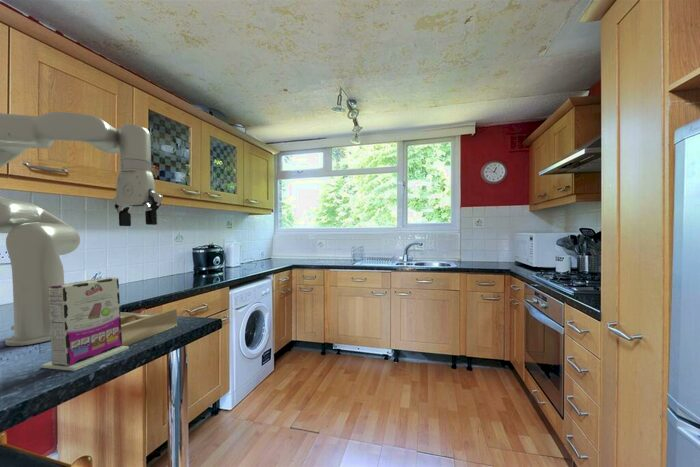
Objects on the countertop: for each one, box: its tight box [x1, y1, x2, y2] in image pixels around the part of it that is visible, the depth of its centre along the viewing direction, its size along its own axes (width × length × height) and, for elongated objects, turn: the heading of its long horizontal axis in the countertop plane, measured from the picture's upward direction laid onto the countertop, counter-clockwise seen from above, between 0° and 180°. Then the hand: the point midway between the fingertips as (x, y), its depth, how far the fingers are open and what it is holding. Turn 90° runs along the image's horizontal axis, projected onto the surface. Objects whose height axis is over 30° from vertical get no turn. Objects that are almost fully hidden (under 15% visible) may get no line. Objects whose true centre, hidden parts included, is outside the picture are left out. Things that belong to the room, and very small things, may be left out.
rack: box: [121, 308, 178, 346], centre depth 78 cm, size 15×16×5 cm
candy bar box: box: [48, 277, 122, 366], centre depth 63 cm, size 11×5×16 cm, turn 168°
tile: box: [41, 345, 130, 372], centre depth 63 cm, size 9×11×1 cm
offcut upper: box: [120, 312, 135, 325], centre depth 79 cm, size 4×6×2 cm, turn 57°
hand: (138, 225), depth 85 cm, fingers open, 9 cm apart
